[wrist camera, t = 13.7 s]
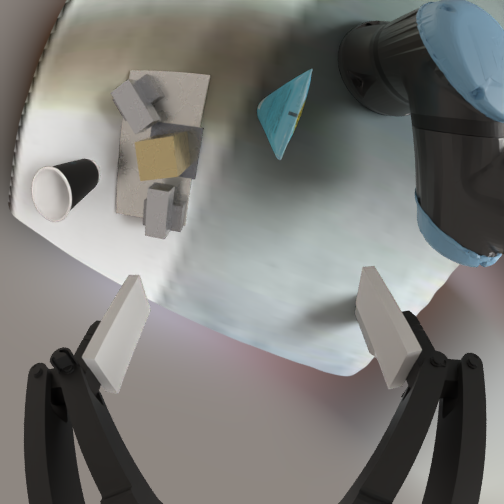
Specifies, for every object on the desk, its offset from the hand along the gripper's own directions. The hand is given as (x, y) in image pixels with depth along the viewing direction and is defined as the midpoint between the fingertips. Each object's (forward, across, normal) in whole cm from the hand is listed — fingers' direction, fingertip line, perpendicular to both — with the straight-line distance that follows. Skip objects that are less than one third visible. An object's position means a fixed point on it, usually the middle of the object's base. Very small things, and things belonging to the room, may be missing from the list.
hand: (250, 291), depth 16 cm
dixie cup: (+27, -27, +4) cm, 38 cm away
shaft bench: (+27, -14, +6) cm, 31 cm away
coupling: (+26, -11, +5) cm, 29 cm away
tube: (+27, +4, +9) cm, 29 cm away
